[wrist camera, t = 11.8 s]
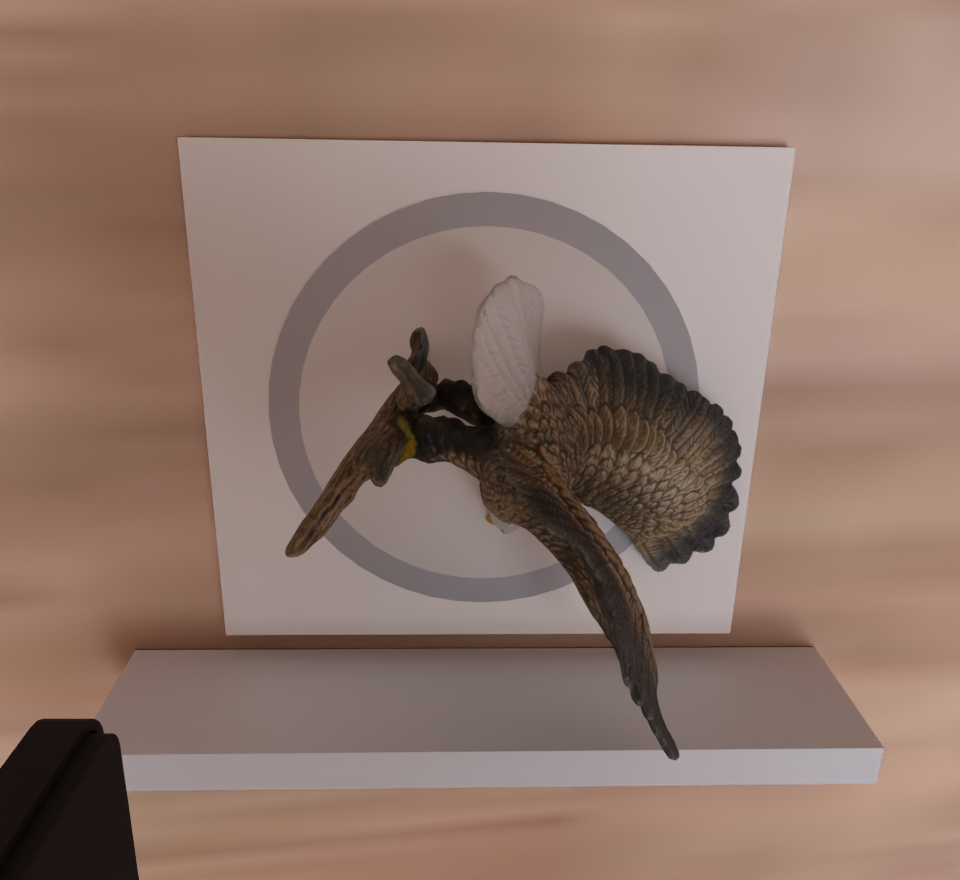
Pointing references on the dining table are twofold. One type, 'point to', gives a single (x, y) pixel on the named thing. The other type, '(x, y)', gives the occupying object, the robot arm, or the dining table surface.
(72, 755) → the robot arm
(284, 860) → the dining table surface
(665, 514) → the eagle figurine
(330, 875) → the dining table surface
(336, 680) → the acrylic wall
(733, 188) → the pad
